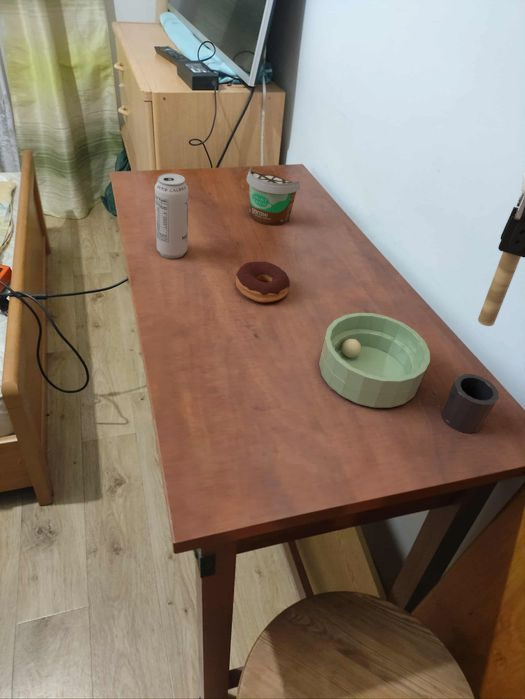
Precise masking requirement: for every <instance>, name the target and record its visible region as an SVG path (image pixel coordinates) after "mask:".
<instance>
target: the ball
mask: <svg viewBox="0 0 525 699" xmlns="http://www.w3.org/2000/svg"><path fill="white" fill-rule="evenodd" d="M342 351H343V353H344V355H345V356H347V357H350V358H353V357H356V356H357V355H359V353H360V351H361V345H360V343H359V342H358V341H357V340H355V339H348V340H346V341H345V342H344V343H343V345H342Z"/></svg>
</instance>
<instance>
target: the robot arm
mask: <svg viewBox="0 0 525 699" xmlns="http://www.w3.org/2000/svg"><path fill="white" fill-rule="evenodd" d="M520 188H521V194H520V196H519V198H518V200H517V203H516V204H515V205H516V206H513V208H512V210H511V212H510V214H509V216H508V219H507V222H506V224H505V226H504V228H503V230H502V232H501V235H500V242H499V244H498V247H497V248H498V251H499V252H502V253H503V252H506V253H510V254H513V255H517V256H520V257H521V258H525V170H523V176H522V181H521V187H520Z"/></svg>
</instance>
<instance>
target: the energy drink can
mask: <svg viewBox="0 0 525 699" xmlns="http://www.w3.org/2000/svg"><path fill="white" fill-rule="evenodd" d="M154 207H155V208H154V209H155V212H154V213H155V238H156V249H157V251H158V252H159V254H160V255H161V256H162V257H163V258H166V259H179V258H182V257H183V256H184V255H185V254H186V252H187V251H188V249H189V246H188V244H189V186H188V185H187V183H186V178H185V177H184V176H183V175H181V174H178V173H170V172H169V173H168V172H167V173H163V174H160V175H158V176H157V181H156V183H155V185H154Z"/></svg>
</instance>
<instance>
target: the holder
mask: <svg viewBox="0 0 525 699" xmlns="http://www.w3.org/2000/svg"><path fill="white" fill-rule="evenodd" d="M499 399H500V393H499V390H498V388H497V387H496V386H495V385H494V384H493V383H492V382H491V381H490V380H489V379H487V378H485V377H484V376H481V375H478V374H475V373H463V374H460V375H457V377H456V378H455V379H454V382H453V383H452V385H451V388H450V390H449V392H448V394H447V396H446V397H445V399H444V402H443V404H442V406H441V408H440V415H441V417H442V418H441V419H443V421H444V422H445V424H447V425H448V426H449V427H450V428H451V429H452V430H453V429H454V430H455V431H456V432H457V431H458V432H460V433H464V434H474V433H477V432H479V431H480V430H481V429H482V428H483V426H484V425H485V423H486V421H487V420H488V418H489V416H490V415H491V413H492V411H493V409H494V408H495V406H496V404H497V403H498V401H499Z"/></svg>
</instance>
